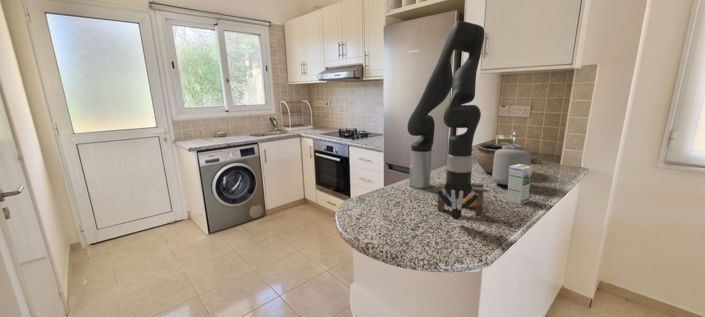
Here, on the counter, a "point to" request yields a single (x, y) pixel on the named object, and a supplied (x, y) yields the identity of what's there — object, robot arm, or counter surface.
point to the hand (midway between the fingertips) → (456, 218)
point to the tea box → (505, 139)
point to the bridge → (478, 202)
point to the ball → (467, 199)
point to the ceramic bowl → (489, 154)
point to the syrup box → (519, 183)
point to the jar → (508, 162)
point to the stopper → (477, 185)
